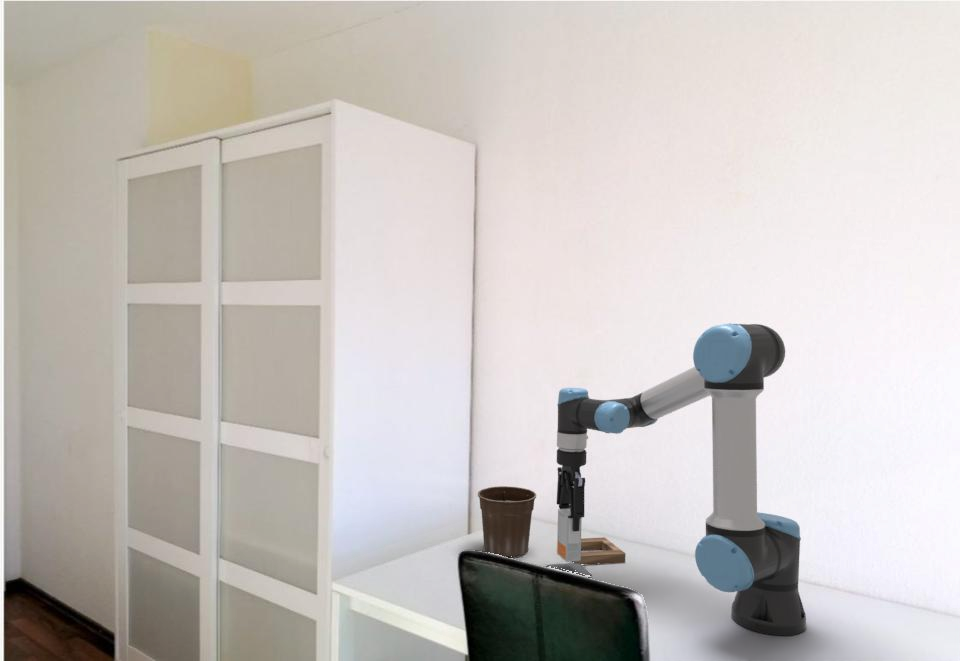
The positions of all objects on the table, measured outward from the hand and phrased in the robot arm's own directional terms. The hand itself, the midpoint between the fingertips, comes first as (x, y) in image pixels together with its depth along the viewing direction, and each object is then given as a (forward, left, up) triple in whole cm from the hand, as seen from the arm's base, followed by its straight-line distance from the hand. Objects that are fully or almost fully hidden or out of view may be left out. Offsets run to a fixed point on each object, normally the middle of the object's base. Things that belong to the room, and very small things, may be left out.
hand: (569, 538), depth 189 cm
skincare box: (0, 0, -5) cm, 5 cm away
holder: (+11, -11, -9) cm, 17 cm away
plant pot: (+18, +11, -9) cm, 23 cm away
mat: (0, 0, -9) cm, 9 cm away
